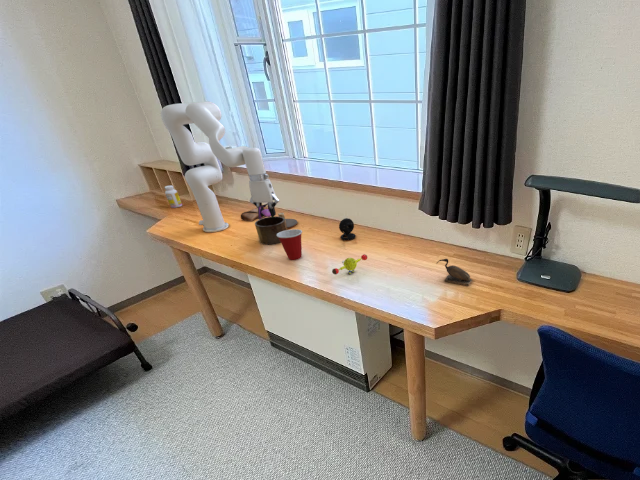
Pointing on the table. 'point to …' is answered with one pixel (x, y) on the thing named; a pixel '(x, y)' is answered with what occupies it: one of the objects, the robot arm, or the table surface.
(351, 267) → the toy figure
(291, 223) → the basket lid
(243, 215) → the sunglasses case
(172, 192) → the supplement bottle
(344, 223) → the webcam
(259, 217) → the purple toy package
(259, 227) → the basket
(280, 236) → the plastic cup
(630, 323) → the table surface
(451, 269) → the figurine
